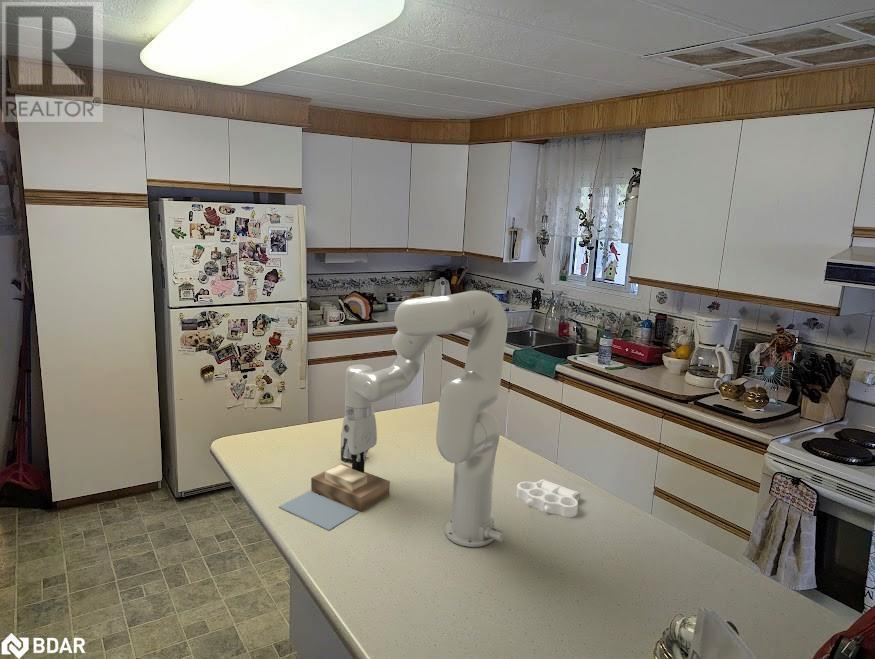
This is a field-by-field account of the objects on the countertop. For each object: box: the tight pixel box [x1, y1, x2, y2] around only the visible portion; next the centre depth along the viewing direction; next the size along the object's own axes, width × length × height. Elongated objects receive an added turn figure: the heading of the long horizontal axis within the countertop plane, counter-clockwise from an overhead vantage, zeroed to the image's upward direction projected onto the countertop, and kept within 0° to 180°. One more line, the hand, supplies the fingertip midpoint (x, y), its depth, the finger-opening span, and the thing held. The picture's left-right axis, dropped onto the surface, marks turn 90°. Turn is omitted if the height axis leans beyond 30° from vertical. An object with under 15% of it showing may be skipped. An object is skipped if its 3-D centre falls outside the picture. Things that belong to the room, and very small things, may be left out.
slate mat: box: [278, 490, 360, 532], centre depth 154 cm, size 18×11×1 cm, turn 56°
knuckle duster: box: [516, 478, 582, 518], centre depth 164 cm, size 3×18×15 cm
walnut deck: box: [310, 462, 391, 513], centre depth 164 cm, size 18×12×4 cm, turn 56°
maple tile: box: [324, 463, 367, 491], centre depth 162 cm, size 10×6×2 cm, turn 55°
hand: (358, 472), depth 165 cm, fingers closed
